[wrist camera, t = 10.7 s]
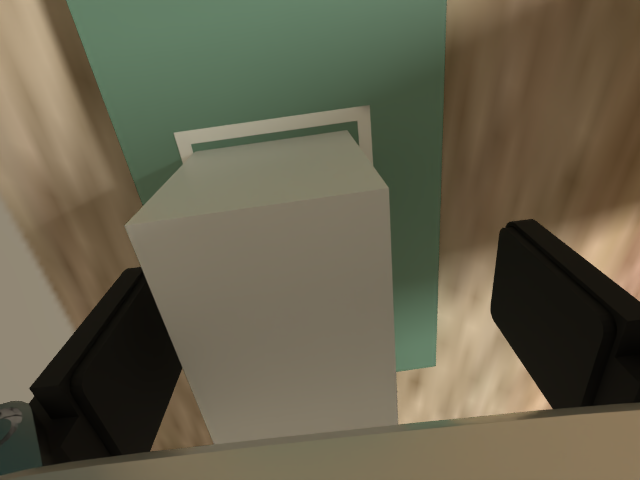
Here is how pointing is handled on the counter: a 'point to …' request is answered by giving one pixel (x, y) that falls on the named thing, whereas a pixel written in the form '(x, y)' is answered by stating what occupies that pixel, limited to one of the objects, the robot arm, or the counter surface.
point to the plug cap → (276, 285)
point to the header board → (288, 104)
